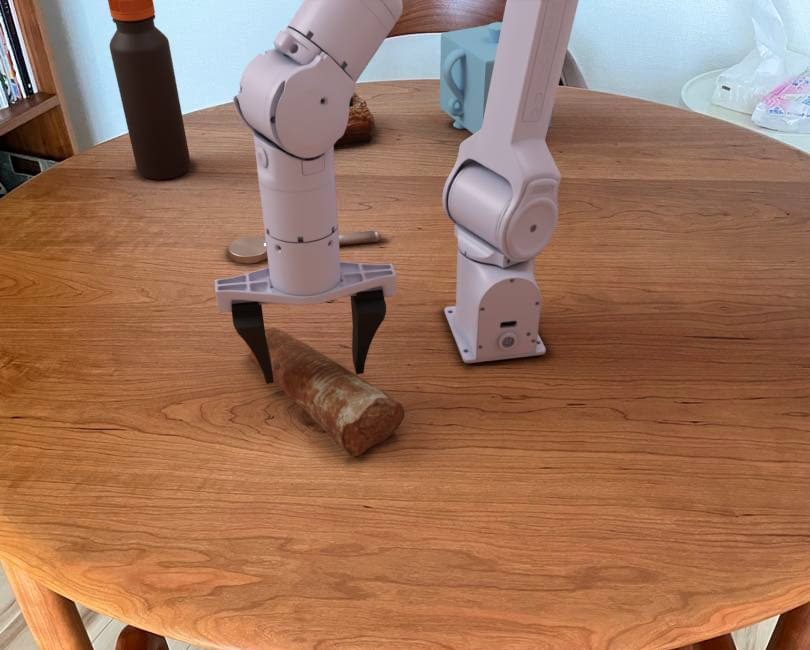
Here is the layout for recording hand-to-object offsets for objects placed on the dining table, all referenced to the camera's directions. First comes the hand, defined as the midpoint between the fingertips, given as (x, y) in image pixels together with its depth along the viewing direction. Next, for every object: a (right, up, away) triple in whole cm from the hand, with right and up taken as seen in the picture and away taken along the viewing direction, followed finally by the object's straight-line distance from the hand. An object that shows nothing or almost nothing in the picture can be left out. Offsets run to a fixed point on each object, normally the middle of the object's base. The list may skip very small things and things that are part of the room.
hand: (313, 372), depth 80 cm
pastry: (-2, +41, +44) cm, 60 cm away
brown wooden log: (0, -3, +3) cm, 4 cm away
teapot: (+21, +39, +42) cm, 62 cm away
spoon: (-4, +18, +22) cm, 28 cm away
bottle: (-23, +33, +36) cm, 54 cm away
